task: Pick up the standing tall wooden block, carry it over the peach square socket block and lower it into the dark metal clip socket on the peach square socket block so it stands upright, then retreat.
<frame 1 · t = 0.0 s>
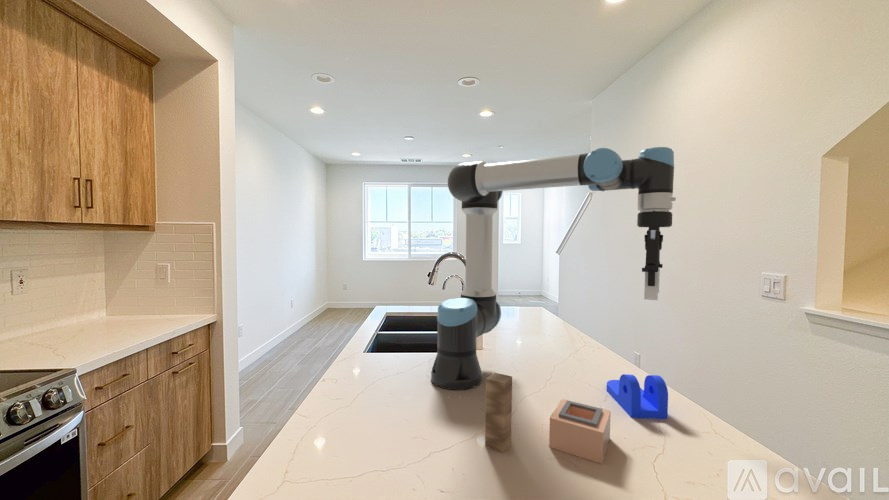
hand: (652, 295, 90), 28 cm above the countertop, fingers open, 13 cm apart
tall wooden block: (498, 444, 73), on the countertop
bracket: (631, 402, 93), on the countertop
peach square socket block: (580, 442, 74), on the countertop
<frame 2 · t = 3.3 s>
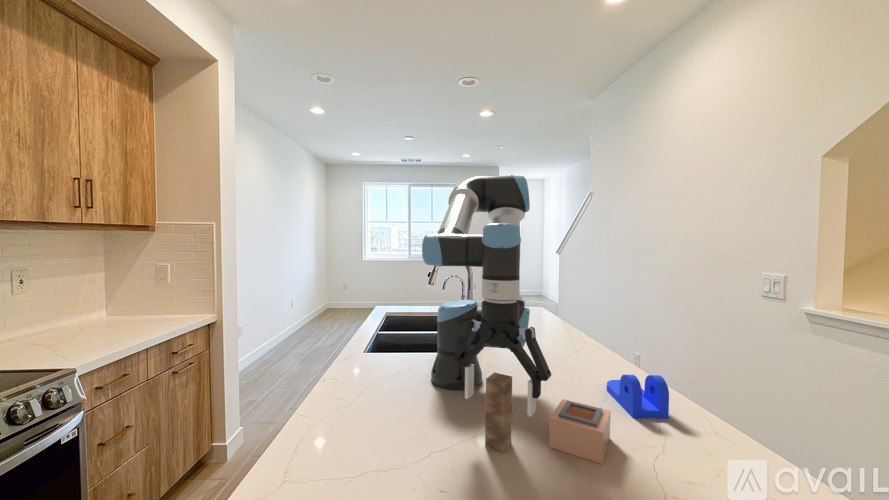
hand: (498, 404, 72), 9 cm above the countertop, fingers open, 13 cm apart
nothing on the countertop moved.
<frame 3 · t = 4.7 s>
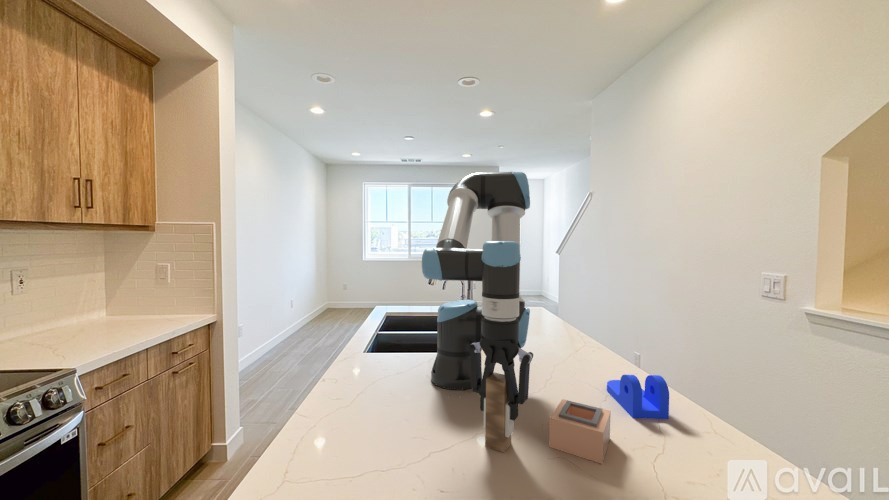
hand: (498, 430, 73), 3 cm above the countertop, fingers closed on tall wooden block, 4 cm apart
tall wooden block: (498, 444, 73), on the countertop, touching gripper
everything else where it was.
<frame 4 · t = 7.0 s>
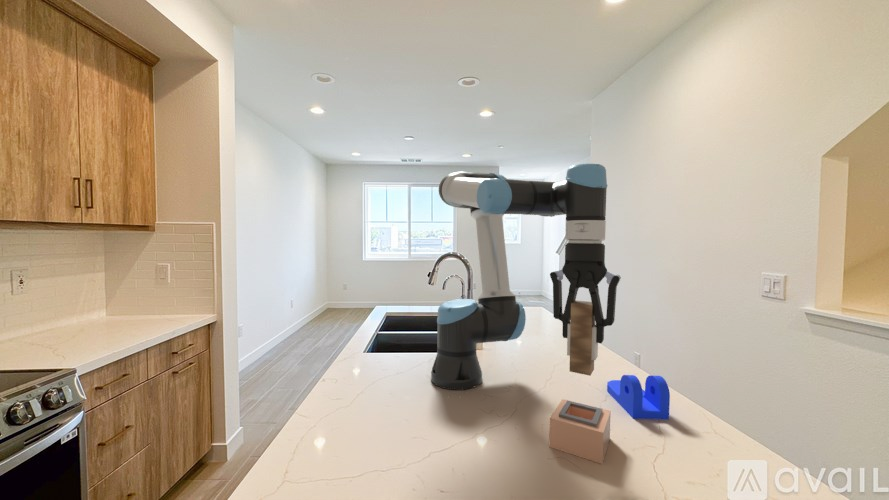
hand: (582, 355, 73), 18 cm above the countertop, fingers closed on tall wooden block, 4 cm apart
tall wooden block: (581, 370, 73), point 15 cm above the countertop, touching gripper
everything else where it was.
when the fingers open (8 cm above the countertop, at t = 9.6 s): tall wooden block drops 3 cm, resting on peach square socket block.
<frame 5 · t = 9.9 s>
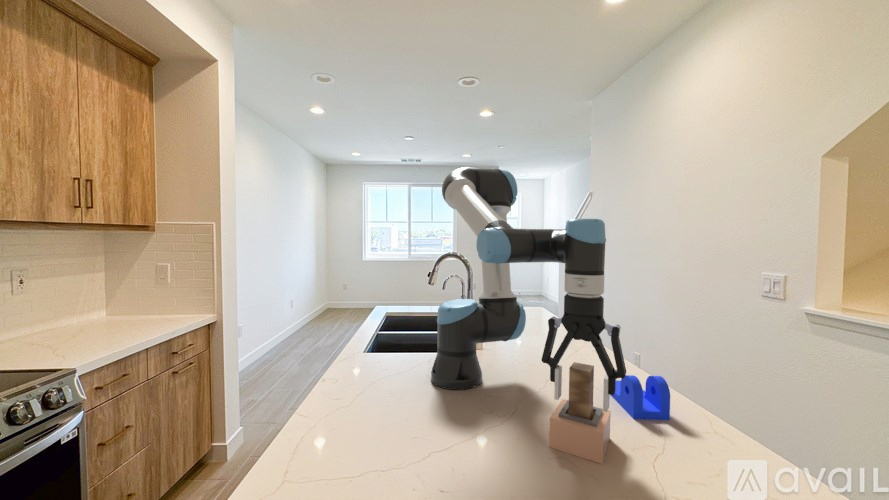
hand: (581, 402, 74), 8 cm above the countertop, fingers open, 9 cm apart
tall wooden block: (580, 433, 74), point 2 cm above the countertop, touching peach square socket block
everything else where it was.
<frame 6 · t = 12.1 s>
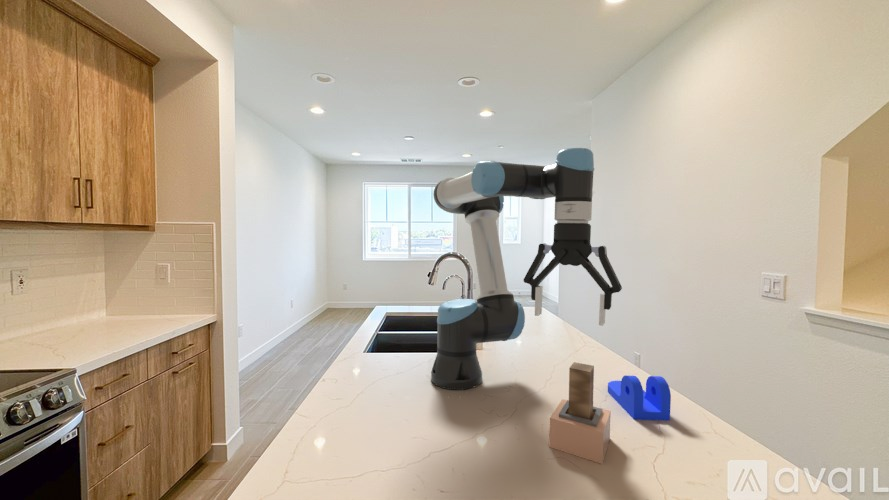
hand: (568, 319, 78), 25 cm above the countertop, fingers open, 13 cm apart
nothing on the countertop moved.
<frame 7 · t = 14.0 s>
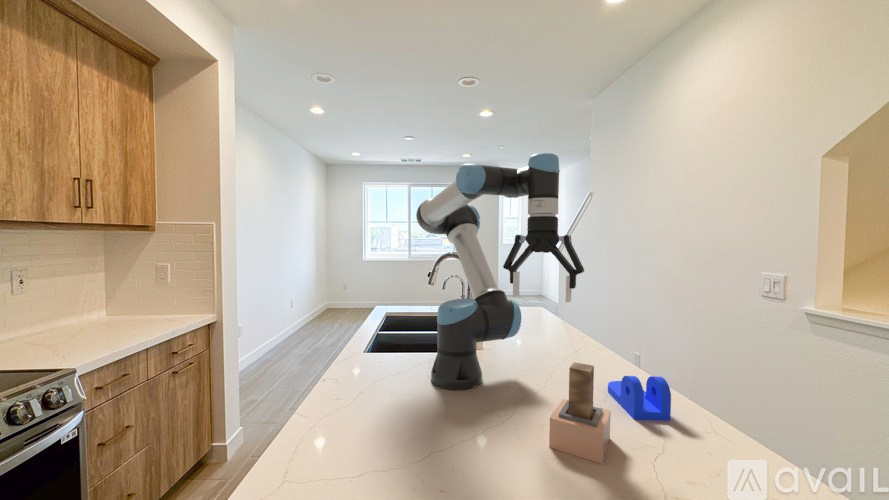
hand: (541, 298, 92), 27 cm above the countertop, fingers open, 13 cm apart
nothing on the countertop moved.
at the end: tall wooden block 0.1 cm off-centre on the peach square socket block, point 2.0 cm above the peach square socket block's base; tall wooden block tilted 0°; the gripper is holding nothing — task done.
